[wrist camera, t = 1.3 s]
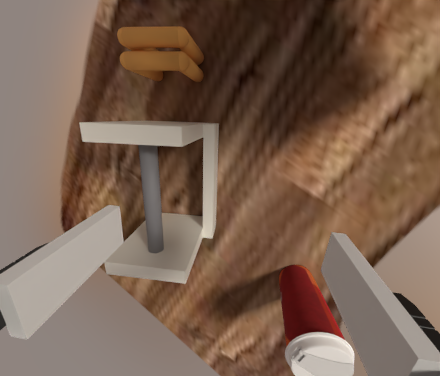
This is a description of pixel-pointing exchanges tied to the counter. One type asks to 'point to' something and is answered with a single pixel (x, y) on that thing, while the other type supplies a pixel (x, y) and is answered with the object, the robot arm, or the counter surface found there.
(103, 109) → the counter surface
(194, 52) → the cord hank
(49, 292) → the robot arm
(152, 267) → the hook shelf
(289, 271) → the coffee cup
